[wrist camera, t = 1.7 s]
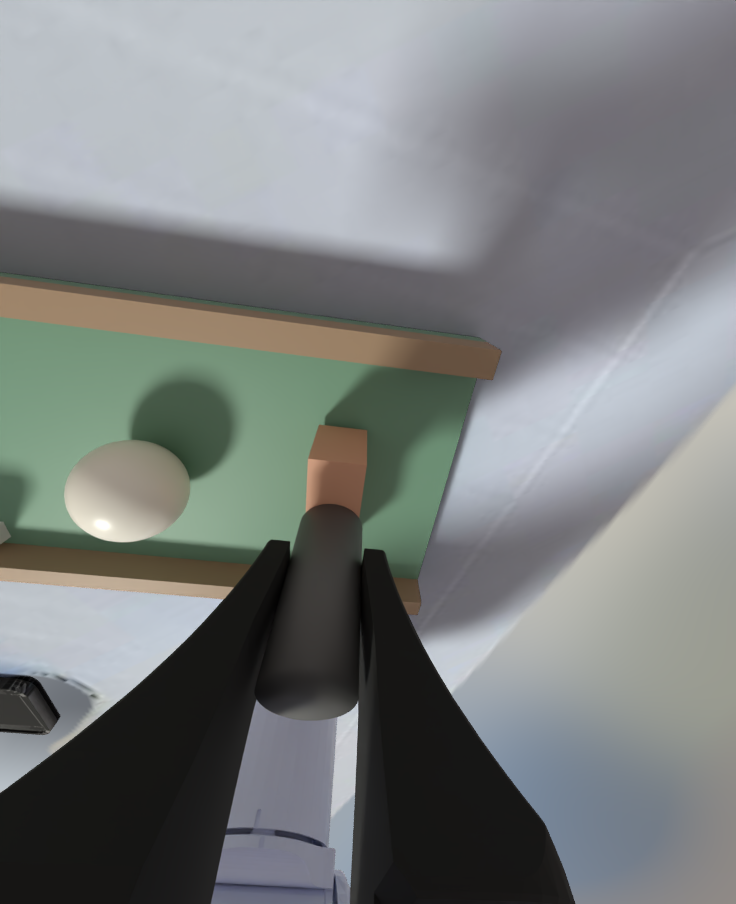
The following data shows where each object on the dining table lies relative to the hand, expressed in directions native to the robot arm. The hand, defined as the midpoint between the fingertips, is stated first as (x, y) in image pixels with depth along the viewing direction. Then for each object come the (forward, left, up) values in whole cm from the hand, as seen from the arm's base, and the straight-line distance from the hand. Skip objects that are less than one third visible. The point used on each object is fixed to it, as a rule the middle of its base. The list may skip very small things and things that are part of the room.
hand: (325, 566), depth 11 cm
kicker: (0, 0, -5) cm, 5 cm away
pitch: (0, +9, -6) cm, 11 cm away
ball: (0, +8, -3) cm, 9 cm away
